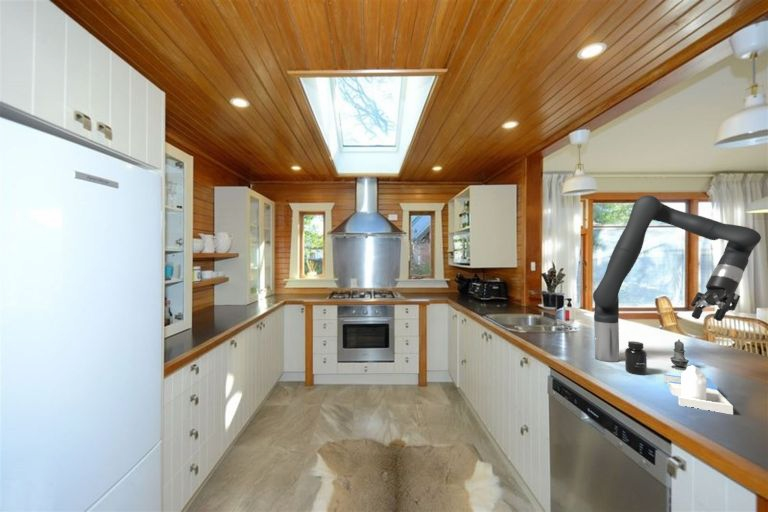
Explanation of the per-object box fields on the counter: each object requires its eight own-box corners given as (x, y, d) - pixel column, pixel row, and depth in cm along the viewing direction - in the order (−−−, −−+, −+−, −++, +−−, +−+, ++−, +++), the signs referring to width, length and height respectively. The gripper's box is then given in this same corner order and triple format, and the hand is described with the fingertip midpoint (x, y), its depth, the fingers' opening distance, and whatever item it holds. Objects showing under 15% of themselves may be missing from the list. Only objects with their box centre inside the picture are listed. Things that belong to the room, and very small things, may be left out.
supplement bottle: (641, 376, 126) (640, 345, 126) (622, 371, 132) (621, 341, 132) (650, 373, 129) (649, 343, 129) (631, 368, 135) (630, 339, 135)
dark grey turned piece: (693, 370, 131) (692, 341, 131) (676, 370, 132) (675, 340, 133) (682, 366, 137) (682, 337, 137) (666, 365, 138) (666, 337, 138)
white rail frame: (679, 405, 101) (679, 394, 101) (664, 381, 121) (664, 372, 121) (734, 414, 95) (733, 402, 95) (708, 387, 114) (708, 377, 114)
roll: (700, 363, 105) (710, 368, 99) (700, 400, 105) (711, 407, 99) (676, 361, 107) (685, 366, 101) (677, 397, 107) (686, 405, 101)
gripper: (697, 275, 125) (678, 312, 124) (734, 273, 111) (714, 314, 110) (715, 285, 124) (697, 322, 123) (756, 284, 110) (736, 326, 109)
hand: (705, 318), depth 116 cm, fingers open, 8 cm apart
